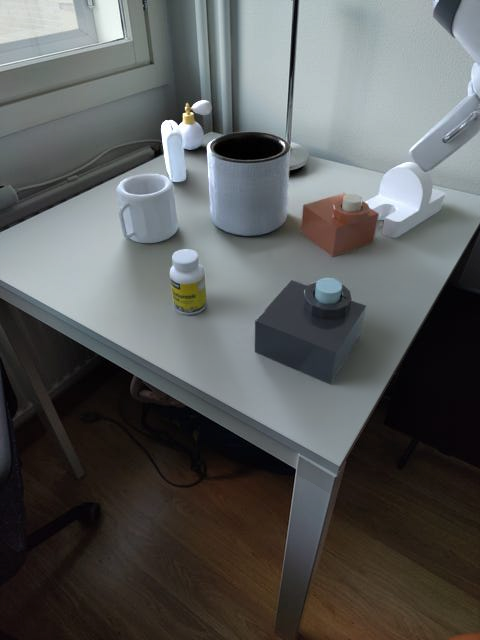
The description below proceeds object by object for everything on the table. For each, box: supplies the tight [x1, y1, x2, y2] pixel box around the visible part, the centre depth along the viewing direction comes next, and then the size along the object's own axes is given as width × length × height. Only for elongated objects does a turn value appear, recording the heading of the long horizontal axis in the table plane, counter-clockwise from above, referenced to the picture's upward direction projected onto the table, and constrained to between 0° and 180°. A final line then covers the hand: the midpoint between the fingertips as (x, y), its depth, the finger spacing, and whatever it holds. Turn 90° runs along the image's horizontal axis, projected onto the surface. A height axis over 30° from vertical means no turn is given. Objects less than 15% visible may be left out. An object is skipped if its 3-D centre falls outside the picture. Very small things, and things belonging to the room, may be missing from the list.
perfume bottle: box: [178, 99, 213, 151], centre depth 124 cm, size 8×10×12 cm
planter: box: [206, 130, 291, 237], centre depth 92 cm, size 16×16×16 cm
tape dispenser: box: [364, 161, 446, 239], centre depth 94 cm, size 10×18×11 cm, turn 132°
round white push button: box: [342, 193, 363, 212], centre depth 84 cm, size 3×3×2 cm
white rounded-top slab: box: [160, 119, 187, 183], centre depth 111 cm, size 10×4×12 cm, turn 15°
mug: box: [116, 173, 179, 244], centre depth 90 cm, size 14×11×10 cm
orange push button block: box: [300, 192, 379, 258], centre depth 88 cm, size 11×10×8 cm
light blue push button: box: [315, 277, 343, 304], centre depth 64 cm, size 4×4×2 cm
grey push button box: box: [254, 279, 367, 385], centre depth 66 cm, size 12×12×8 cm
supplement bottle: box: [169, 248, 208, 316], centre depth 73 cm, size 5×5×10 cm
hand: (424, 151), depth 65 cm, fingers closed
